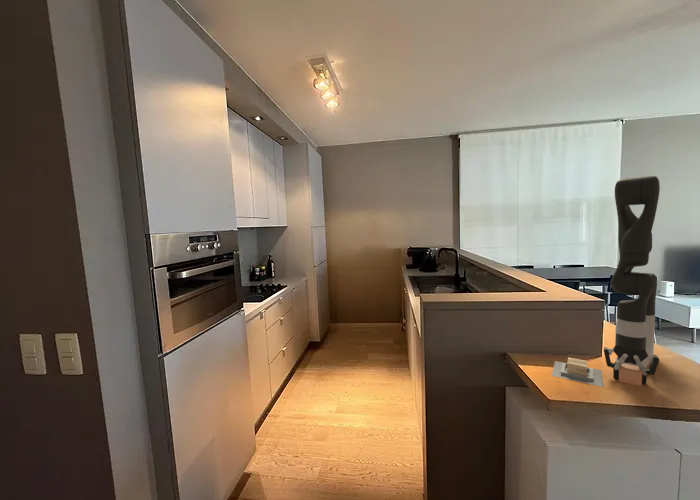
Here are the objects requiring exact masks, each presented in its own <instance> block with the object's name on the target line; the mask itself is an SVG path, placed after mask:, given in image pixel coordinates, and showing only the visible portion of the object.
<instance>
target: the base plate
mask: <svg viewBox="0 0 700 500" xmlns="http://www.w3.org/2000/svg"><path fill="white" fill-rule="evenodd" d="M551 377H556V378H560V379H565V380H569V381H575V382H578V383H583V384H587V385H591V386H597V387H600V388H601V387H602V388H604V379H603V378H604V377H603V370H602V369H597V368H592V367H588V366H587V376H583V375H579V374H574V373H569V372H567V362H562V361H557V360H556V361H554V364H553V369H552V373H551Z"/></svg>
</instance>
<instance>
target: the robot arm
mask: <svg viewBox="0 0 700 500" xmlns="http://www.w3.org/2000/svg"><path fill="white" fill-rule="evenodd" d="M660 187H661V184H660V180H659V178H658V177H657V176H654V175H649V176H648V175H647V176H638V177H627V178H622V179H621V178H620V179H619V180H617V181H616V183H615V186H614V199H615V206H616V215H617V224H618V227H617V228H618V229H617V230H618V231H617V235H618V237H617V239H618V240H617V242H618V253H619V259H618V260H619V261H618V264H617V266H616V269H615V271H614V274H613V275H612V277H611V280H610V287H611V288H612V291H614V292H615V293H618V294H624V295H629V296H636V297H637V298H635V299H625V300H620V301H618V302H617V306H616V307H617V309H616V310H617V311H616V313H617V317H616V322H615V338H614V339H615V343H614V344H615V345H614V346H613V347H612V348H610V347H605V346H604V347H603V353H604V358H605V363H606V366H607V367H608V368H609V367H610V368H612V369H613V372H612V373H613V375H612V376H613V379H616V380H619V367H620V366H621V365H622V364H623V362H624V363H632V364H635V365H636V364H637V365H638V367H639V369H640V371H642V386H643V385H647V379H648V378H647V377H648V376H649V375H651V376H654V375H655V373H656V371H657V368H658V365H659V362H660V359H659V356H658V355H656V354H654V348H655V328H656V327H655V326H656V325H655V324H656V298H657V297H656V296H657V289H658V278H657V276H656V274H655V273H651V272H636V271H635V272H633V269H634V268H636V267H637V268H638V267H644V266H647V265H648V264H649V260H650V259H649V258H650V253H651V251H652V249H653V233H652V231H653V226H654V223H655V219H656V214H657V208H658V204H659V198H660V191H661V190H660V189H661V188H660ZM638 205H641V206H642V205H643V206H644V207H643V210H642V212H641V214H640V216H639V217H637V215H636V214H635V213H634V212H633V211H632V209H631V207H630V206H638ZM613 353H614V355H616V358H617V356H618V358H617V359H616V358H615V361H614V362H612V361H611V357H610V356H611V355H613ZM647 357H648V358H649V361H650V363H649V365H648V368H646V369H645V368H644V366H643V364H642V361H643V360H644V359H646V358H647Z"/></svg>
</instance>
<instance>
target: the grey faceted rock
mask: <svg viewBox="0 0 700 500" xmlns="http://www.w3.org/2000/svg"><path fill="white" fill-rule="evenodd" d="M617 358H618V356H617V355H616V358H615V360H616V359H617ZM650 363H651V362H650V361H649V358H648V357H647V358H646V359H644V360H643V361H642V364H643V366H644V368H645V369H647V367H649V365H650ZM623 364H628V365H633V366H638V365H637V364H636V365H635V364H632V363H624V362H623Z"/></svg>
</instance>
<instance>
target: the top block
mask: <svg viewBox="0 0 700 500" xmlns="http://www.w3.org/2000/svg"><path fill="white" fill-rule="evenodd" d="M618 382H619V383H625V384H630V385H635V386H639V387H641V386H643V384H642V371H640V369H639V367H638V366H633V365H628V364H622V365H621V366H620V367H619V379H618Z"/></svg>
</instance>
